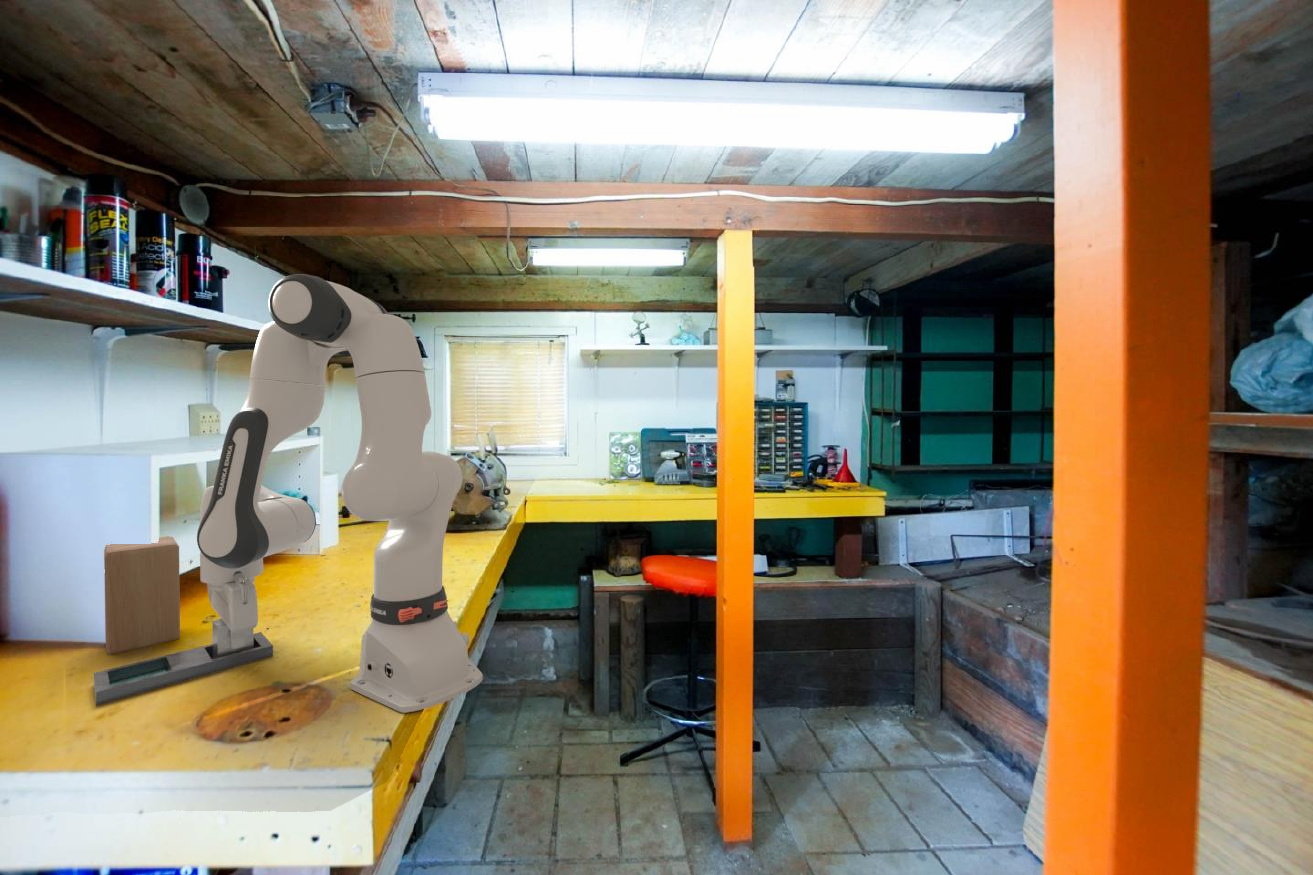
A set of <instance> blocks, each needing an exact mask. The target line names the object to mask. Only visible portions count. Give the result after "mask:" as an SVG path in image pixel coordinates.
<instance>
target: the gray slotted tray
mask: <svg viewBox="0 0 1313 875" xmlns="http://www.w3.org/2000/svg"><path fill="white" fill-rule="evenodd" d="M273 656H274V645H273V644H272V643H271V641H269V639H268V638H267V637H266V636H265V635H264V634H263V633H262V632H261V631H259V632H255V633H253V649H250V650H246V651H242V652H239V653H235V654H231V655H227V656H223V657H220V658H216V659H213V643H210V644H206V645H202V646H199V647H195V648H190V649H187V650H183V651H182V650H181V651H179V652H178V651H177V652H173V653H170V654H166V655H161V656H158V657H153V658H149V659H146V660H145V659H144V660H141V661H136V662H134V663H130V664H125V665H120V666H118V667H112V668H109V669H104V670H101V671H97V672H93V689H94V697H95V706H100V705H104V704H108V703H111V702H114V701H118V700H122V699H125V698H129V697H133V696H135V695H139V694H144V693H147V692H150V691H154V690H157V689H160V688H164V687H167V686H168V687H169V686H172V685H175V684H178V683H179V684H180V683H182V682H186V681H189V680H193V679H196V678H197V679H198V678H201V677H204V676H208V675H210V674H215V673H218V672H221V671H222V672H223V671H225V670H230V669H232V668H235V667H239V666H243V665H246V664H247V665H248V664H251V663H253V662H257V661H261V660H265V659H268V658H272V657H273Z"/></svg>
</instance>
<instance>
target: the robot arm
mask: <svg viewBox="0 0 1313 875" xmlns="http://www.w3.org/2000/svg"><path fill="white" fill-rule="evenodd" d="M267 304H268V305H267V306H268V311H269V314H270V316H271V319H272V320H273V321H271V322H268V323H266V324H265V325H264V326H262V328H261V329H260V331H259V333H258V335H257V336H258V337H257V339H256V342H255V346H254V349H253V354H252V359H251V365H250V366H251V367H250V374H249V384H248V390H247V394H246V396H245V400H244V403H243V404H242V407H241V409H240V410H239V412H237V413H236V414H235V415H234V416H233V418H232V419H231V421H230V423H229V425H228V428H227V431H226V434H225V436H224V441H223V444H222V449H221V454H220V458H219V462H218V467H217V470H216V475H215V479H214V483H212V484H210V485H209V486H208V487H206V488H205V490H204V491H203V494H202V497H201V501H200V502H201V503H200V507H199V508H200V509H199V525H198V529H197V534H196V543H197V546H198V550H199V551H200V554H199V561H200V562H199V568H200V570H199V574H200V575H199V576H200V577H199V578H200V582H201V583H203V584H206V587H207V593H208V598H209V604H210V605H211V608H212V609H213V610H214V611H215V612H216V614H217V615H218V616H219V619H222V620H223V621H224V623H225V624H226V625H227V627H228V628H229V629H230V631H231V637H230V646H231V648H232V649H236V648H240V647H242V646H244V636H245V633H246V630H249V629H252V628H253V629H255V628H257V626H258V623H259V612H258V611H259V610H258V609H259V608H258V596H257V595H258V594H257V588H256V586H255V581H256V579H255V578H256V577H258V576H260V575H262V574H263V572H264V558H265V557H269V556H272V555H275V554H278V553H281V552H283V551H286V550H288V549H291V548H295V547H297V546H299V545H301V544H303V543H306V542H307V541H308V540H310V538H311V537H312V536H313V534H314V532H315V529H316V524H317V518H316V517H317V516H316V514H315V511H314V509H313V507H312V506H311V505H310V504H309V503H308V502H307V501H306V500H304V499H303V498H301V497H295V496H294V497H292V496H289V495H285V494H281V493H280V492H276V491H274V490H272V489H269V488H267V487H266V486H264V485H263V484H262V483H263V481H264V480H263V479H264V475H265V474H264V473H265V470H266V464H267V461H268V458H269V457H270V455H271V453H272V452H273V450H274V449H275V448H276V447H277V446H278V445H279V444H281V443H282V442H284V441H285V440H286V439H288V438H290V437H291V436H293V435H296V434H298V433H300V432H302V431H304V430H306V429H308V428H310V426H312V425H313V424H314V423H315V422H317V420H318V419H319V418H320V415H321V413H322V409H323V407H324V403H325V392H326V374H327V366H328V363H329V360H330V359H331V358H332V357H333V356H334V355H336V354H338V355H339V356H341V357H345V358H347V357H351V358H352V363H353V369H354V377H355V382H356V389H357V395H358V402H359V408H360V417H361V435H360V441H359V446H358V447H359V448H358V451H357V455H356V458H355V461H354V463H353V465H352V466H351V468H350V469H349V470H348V471H347V472H346V474H345V476H344V478H343V480H342V484H341V496H342V497H341V498H342V501H343V503H344V506H345V508H346V509H347V510H348V511H349V513H351V515H352V516H354V517H355V518H357V519H360V520H362V521H366V522H367V521H368V522H369V521H370V522H388V525H387V527H386V529H385V532H384V533H383V536H382V538H381V539H380V540H379V542H378V543H377V545H376V547H375V550H374V553H373V593H372V595H371V596H370V602H369V603H370V604H369V609H370V618H371V619H372V620H371V622H370V624H369V626H368V627H367V629H366V630H365V631H364V633H363V634H362V636H361V646H360V659H359V660H360V661H359V674H358V675H356V676H355V677H354V678H353V679H352V680H351V681H350V685H349V688H350V689H351V690H352V691H353V692H356V693H359V694H361V695H363V696H365V697H366V698H369V699H371V700H373V701H375V702H378V703H380V704H382V705H384V706H386V707H388V708H390V709H393V710H395V711H397V712H399V713H402V714H406V713H412V712H417V711H422V710H425V709H428V708H432V707H435V706H437V705H441V704H444V703H445V702H448V701H451V700H454V698H457V697H460V696H462V695H464V694H466V693H468V692H469V691H471V690H472V689H474V688H476V687H477V686H478V685H480V684H481V683H482V682H483V680H484V675H483V673H482V672H481V671H480V669H479V668H478V667H477V665H475V664H474V662H473V661H472V660H471V659H470V657H469V656H468V654H469V651H468V646H469V645H470V637H469V634H468V633H467V632H464V633H461V632H460V631H459V628H458V622H457V621H453V618H452V617H451V615H450V614H449V611H448V609H449V604H448V601H449V600H448V596H447V594H446V590H445V586H444V585H443V563H444V561H443V558H444V557H443V556H444V555H443V554H444V542H445V537H446V532H447V527H448V525H449V524H448V522H449V519H450V516H451V511H452V508H453V505H454V502H455V499H456V497H457V495H458V494H459V491H461V488H462V485H463V480H464V477H463V471H462V469H461V466H460V465H459V463H458V462H457V461H456V460H455V459H454V458H452V457H451V456H449V455H446V454H443V453H439V452H437V451H436V452H435V451H423V442H424V434H425V430H426V427H427V425H428V424H429V422H430V421H431V418H432V409H431V402H430V397H429V396H430V395H429V391H428V385H427V379H426V378H427V377H426V371H425V367H424V362H423V358H422V355H421V351H420V348H419V344H418V342H417V338H416V336H415V333H414V331H413V328H412V326H411V325H410V324H409V323H408V322H407V321H406V319H404V318H402V317H399V316H397V315H394V314H390V313H389V312H388V311H387V310H386V309H385V308H384V306H382V305H381V304H380V303H378V302H377V301H376V300H374V299H372V298H369V297H366V296H364V295H362V294H360V293H358V292H356V291H354V290H352V289H351V288H349V287H347V286H344V285H342V284H339V283H336V282H332V281H328V280H325V279H324V278H322V277H319V276H315V275H310V274H303V273H300V274H299V273H297V274H296V273H295V274H288V275H287V276H284V277H282V278H280V279H279V280H277V282H276V283H274V285H273V286H272V289H271V291H270V292H269V295H268V303H267Z"/></svg>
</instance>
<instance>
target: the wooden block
mask: <svg viewBox="0 0 1313 875" xmlns="http://www.w3.org/2000/svg"><path fill="white" fill-rule="evenodd" d="M105 546H106V547H104V548H105V549H104V548H103V552H104V553H103V554H104V555H103V558H104V559H103V562H104V569H105V573H104V622H105V623H104V625H105V626H104V629H105V632H104V633H105V652H106V654H107V655H115V654H121V653H124V652H127V651H132V650H138V649H141V648H142V649H143V648H146V647H150V646H154V645H160V644H164V643H167V642H172V641H176V640H179V638H180V636H181V611H180V610H181V606H180V603H181V602H180V601H181V600H180V599H181V595H180V594H181V593H180V592H181V589H180V587H181V586H180V545H179V544H178V542H177V541H176V540H175V538H174V537H173V536H169V535H167V536H159V541H158V543H151V544H110V545H107V544H105Z"/></svg>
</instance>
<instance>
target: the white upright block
mask: <svg viewBox="0 0 1313 875" xmlns="http://www.w3.org/2000/svg"><path fill="white" fill-rule="evenodd" d="M211 622H212V634H211V635H212V644H213V659H216V658H220V657H223V656H227V655H231V654H235V653H239V652H242V651H246V650H250V649H253V634H254V628H252V629H249V630H246V633H245V636H244V646H242V647H240V648H236V649H232V648H231V646H230V637H231V631H230V629H229V628H228V627H227V625H226V624H225V623H224V621H223V620H222V619H220V618H219V619H213V620H212V621H211Z"/></svg>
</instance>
